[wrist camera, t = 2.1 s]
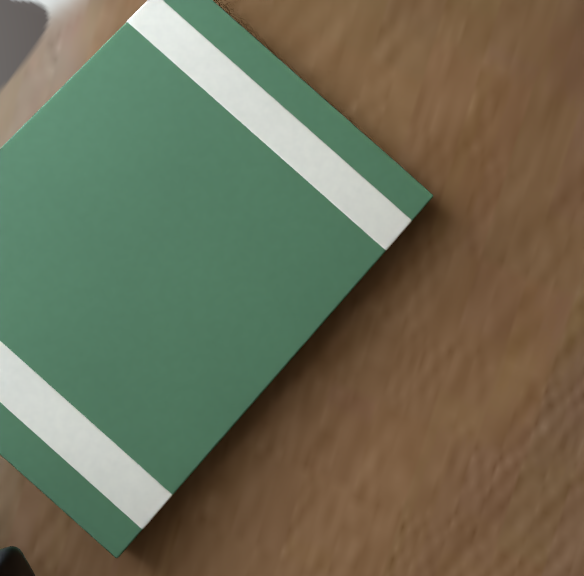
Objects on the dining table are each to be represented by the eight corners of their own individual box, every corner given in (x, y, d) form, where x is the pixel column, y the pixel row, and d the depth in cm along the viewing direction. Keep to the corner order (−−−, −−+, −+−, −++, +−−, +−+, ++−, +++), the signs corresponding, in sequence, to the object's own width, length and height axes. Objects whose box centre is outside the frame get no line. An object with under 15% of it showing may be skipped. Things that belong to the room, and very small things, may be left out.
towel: (123, 548, 21) (116, 560, 20) (-142, 310, 21) (-163, 309, 20) (427, 201, 23) (434, 195, 22) (182, -16, 23) (178, -32, 22)
